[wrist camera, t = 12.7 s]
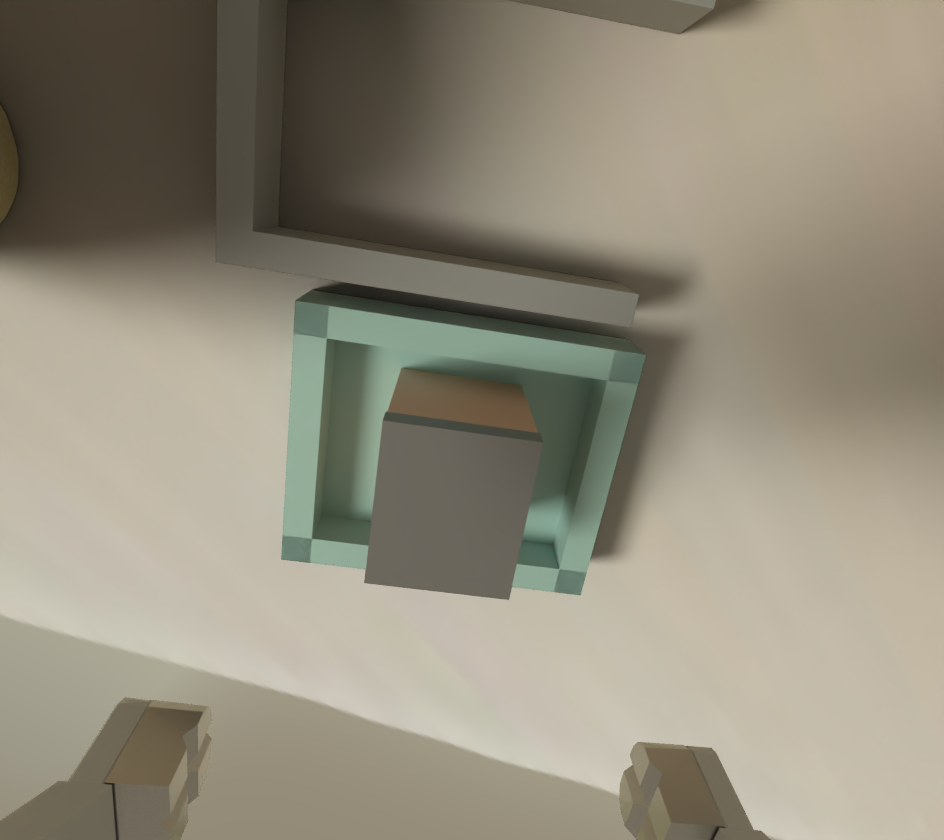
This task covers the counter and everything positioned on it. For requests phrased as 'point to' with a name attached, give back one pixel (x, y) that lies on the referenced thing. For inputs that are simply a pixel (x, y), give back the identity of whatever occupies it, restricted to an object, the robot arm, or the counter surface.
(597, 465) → the tray
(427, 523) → the orange-topped grey box
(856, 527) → the counter surface
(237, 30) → the bay
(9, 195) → the plant pot
